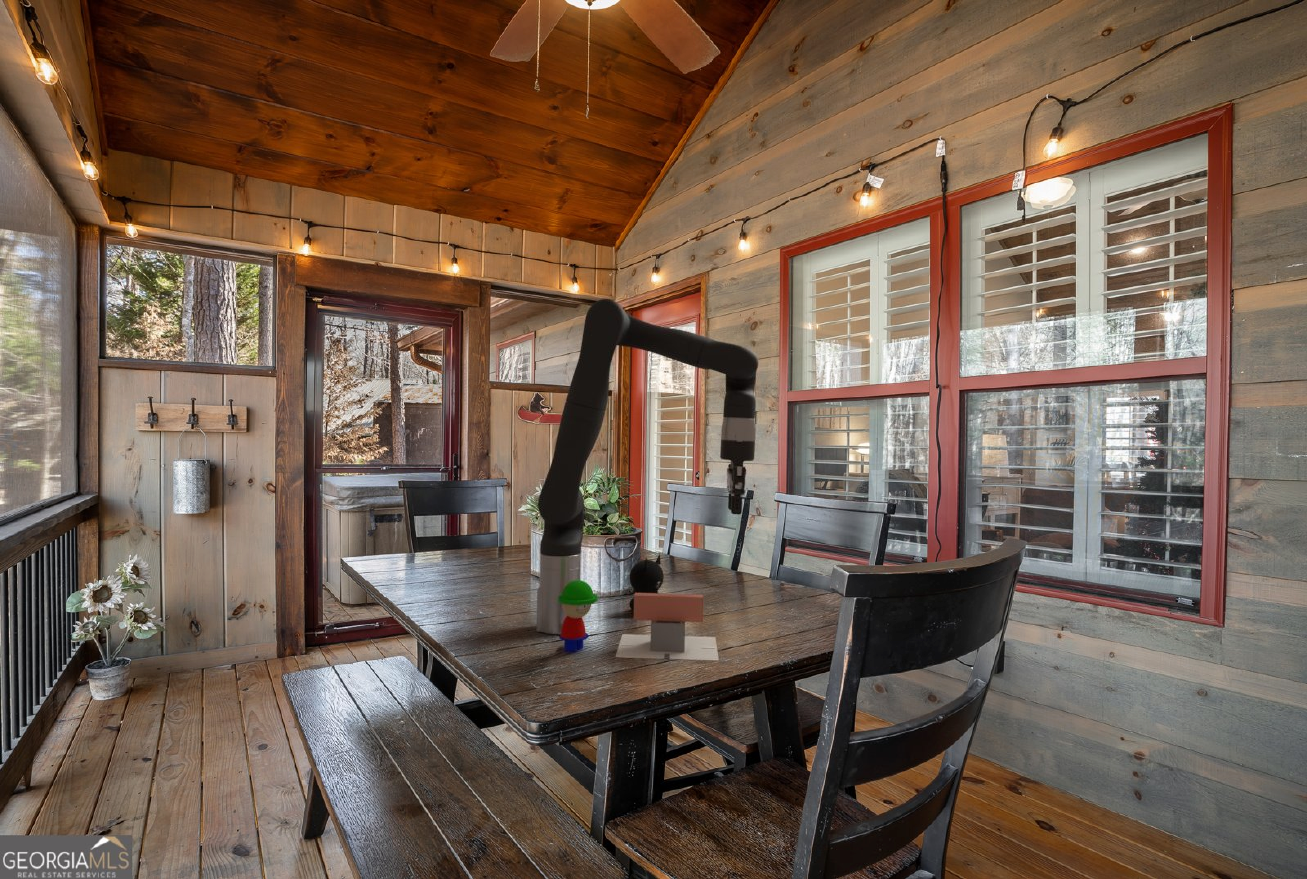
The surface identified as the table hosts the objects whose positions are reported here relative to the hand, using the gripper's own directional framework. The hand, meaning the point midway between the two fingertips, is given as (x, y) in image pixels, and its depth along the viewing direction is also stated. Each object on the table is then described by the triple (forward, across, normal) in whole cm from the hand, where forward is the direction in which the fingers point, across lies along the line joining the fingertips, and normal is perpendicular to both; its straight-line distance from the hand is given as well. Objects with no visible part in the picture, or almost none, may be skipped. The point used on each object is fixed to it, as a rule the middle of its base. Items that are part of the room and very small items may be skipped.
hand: (734, 511), depth 146 cm
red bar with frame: (+27, +12, -13) cm, 32 cm away
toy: (+29, +16, -31) cm, 45 cm away
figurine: (+28, -19, -16) cm, 38 cm away
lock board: (+28, +12, -13) cm, 33 cm away
